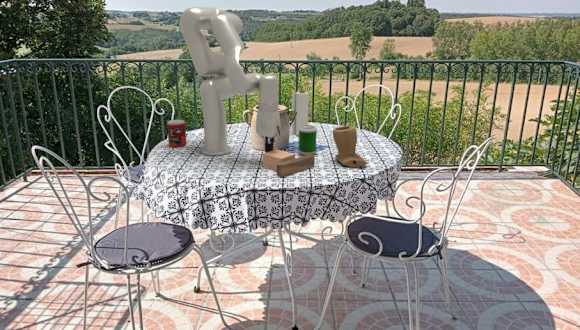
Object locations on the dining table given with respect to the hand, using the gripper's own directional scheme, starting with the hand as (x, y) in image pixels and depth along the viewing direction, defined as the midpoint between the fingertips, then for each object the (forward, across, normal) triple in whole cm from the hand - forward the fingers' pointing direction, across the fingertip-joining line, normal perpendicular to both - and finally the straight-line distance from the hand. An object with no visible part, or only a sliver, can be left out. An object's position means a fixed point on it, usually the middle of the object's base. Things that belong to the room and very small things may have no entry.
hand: (269, 152), depth 179 cm
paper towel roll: (+4, -21, +42) cm, 47 cm away
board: (+4, +15, 0) cm, 16 cm away
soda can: (+4, +3, +20) cm, 21 cm away
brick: (+5, +7, -1) cm, 8 cm away
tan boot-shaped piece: (+5, +23, +22) cm, 32 cm away
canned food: (+4, -48, -12) cm, 50 cm away
